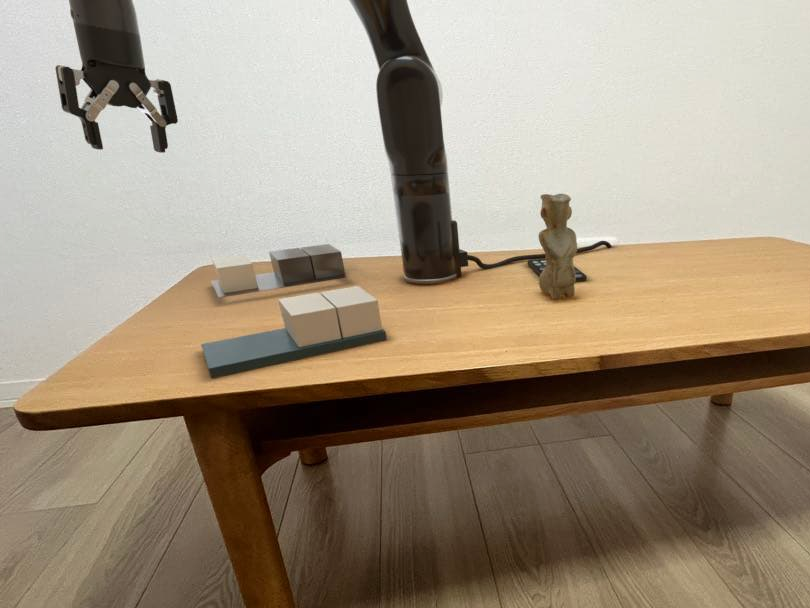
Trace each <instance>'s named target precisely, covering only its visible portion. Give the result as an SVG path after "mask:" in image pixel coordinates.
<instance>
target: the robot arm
mask: <svg viewBox="0 0 810 608" xmlns="http://www.w3.org/2000/svg"><path fill="white" fill-rule="evenodd" d="M348 1H349V3H350V5H351V6H352V8H353V10H354V12H355V13H356V16H357V17H358V19H359V20H360V22H361V25H362V26H363V28H364V31H365V33H366V35H367V39H368V40H369V43H370V46H371V49H372V53H373V55H374V58H375V61H376V64H377V67H378V70H379V71H378V73H377V77H376V82H375V83H376V84H375V94H376V102H377V108H378V117H379V123H380V128H381V135H382V136H381V137H382V142H383V147H384V152H385V155H386V158H387V160H388V167H389V172H390V180H391V187H392V195H393V201H394V210H395V217H396V225H397V232H398V240H399V246H400V254H401V261H402V270H403V280H404V281H405V282H406V283H407V282H408V283H410V284H415V285H416V284H417V285H435V284H441V283H442V284H443V283H446V282H450V281H453V280H455V279H458V278H462V277H463V276H462V275H463V273H462V268H465V267H469V261H471V262H474V263H476V265H477V266H478V268H481V269H484V270H490V269H494V268H499V267H503V266H506V265H508V264H512V263H514V262H523V261H528V260H535V259H546V256H545V253H536V254H524V255H517V256H512V257H509V258H505V259H504V260H501V261H498V262H496V263H490V264H489V263H483V262H482V260H481V259H480V258H479V257H477V256H475V255H471V254H468V251H466V250H463V249H460V237H459V228H458V227H459V226H458V222H457V220H455V219H453V213H452V211H453V210H452V201H451V192H450V191H451V190H450V179H449V169H448V168H449V165H448V156H447V152H446V147H445V140H444V130H443V128H444V127H443V119H442V118H443V117H442V104H443V88H442V83H441V81H440V79H439V76H438V74H437V72H436V70H435V69H434V66H433V64H432V62H431V59H430V57H429V56H428V53H427V51H426V48H425V46H424V44H423V42H422V39H421V36H420V35H419V32H418V30H417V28H416V25H415V22H414V20H413V16H412V13H411V10H410V7H409V2H408V0H348ZM68 4H69V8H70V10H69V13H70V17H71V19H72V23H73V26H74V27H73V29H74V33H75V37H76V41H77V47H78V51H79V56H80V60H81V63H82V64H81V68H80V69H75V68H71V67H69V66H67V65H61V64H58V65H55V75H56V80H57V87H58V91H59V93H58V94H59V98H60V104H61V109H62V111H63V112H65V113H67V114H69V115H72V116H75V117H76V118H78V120H80V122H81V126H82V131H83V135H84V141H86V143H87V144H89V145H90V146H91V148H92V149H94V150H100V151H101V150H104V145H103V140H102V136H101V131H100V126H99V122H97V121H96V119H97V118H98V117H99V115H100V113H101V112H102V111H103V110H105V108H106V107H107V105H108V106H112V107H127V108H130V109H138V111H139V112H141V113H142V114H143V115H144V116H145V117H146V119H147V120H148V121H149V122H150V123H151V125H149V127H150V134H151V140H152V146H153V147H152V148H153V150H154V151H155V152H157V153H160V154H161V153H163V154H164V153H166V150H167V149H168V147H169V143H168V138H167V137H168V135H167V131H166V127H168V126H170V125H172V124H174V125H176V124H178V122H179V119H178V115H177V114H178V113H177V109H176V105H175V99H174V95H173V94H174V93H173V90H172V85H171V83H170V82H169V81H168V80H164V79H158V78H157V79H149V78H148V76H147V74H146V64H145V57H144V51H143V46H142V39H141V34H140V28H139V22H138V21H139V20H138V16H137V11H136V8H135V4H134V1H133V0H68ZM81 80H82V81H83V82H84V83H85V84H86V85H87V86H88V87H89V89H90V90H89V92H88V93H87V95H86V97H85V98H84V102H83V103H82V105H81V107H80V104H79V98H78V97H79V96H78V91H77V87H78V86H79V85H80V82H81ZM150 90H152V93H153V94H154V95H156V96H157V100H158V105H159V110H160V113H159V111H158V109H157V107H156V106H155V105H154V104H153V103H152V102H151V100H150V99H149V97H147V95H148V93H149V92H150ZM601 246H605V247H606V248H608V249H612V248H613V246H612V244H611V243H610V242H609V241H607V240H599V241H597V242H595V243H594V244H592V245H588V246H584V247H579V248H578V247H577V252H576V254H575V255H578V254H581V253H585V252H590V251H593V250H595V249H597V248H599V247H601Z"/></svg>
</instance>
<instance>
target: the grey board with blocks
mask: <svg viewBox="0 0 810 608" xmlns="http://www.w3.org/2000/svg"><path fill="white" fill-rule="evenodd" d="M268 255H269V259H270V262H271V266H272V270H273V271H272V272H271V271H270V272H265V273H258V274H257V273H256V274H255V276H256V280H257V284H258V288H256V289H249V290H243V291H236V292H230V293H224V292H223V290H222V288H221V286H220V284H219V282H218V279H215V280H211V282H210V283H211V284H212V286H213V288H214V290H215V292H216V295H217V297H218V298H220V299H221V298H226V297H233V296H238V295H239V296H240V295H246V294H252V293H259V292H263V291H264V292H265V291H271V290H277V289H278V290H279V289H284V288H291V287H297V286H304V285H309V284H316V283H323V282H329V281H335V280H341V279H346V278H347V279H348V278H349V276H348V275H346V271H345V266H344V260H343V254H342V251H341V250H339V249H338V248H336V247H334V246H332V245H331V244H329V243H327V244H326V243H325V244H316V245H310V246H301V247H295V248H294V247H293V248H287V249H278V250H271V251H268Z"/></svg>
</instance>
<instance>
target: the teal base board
mask: <svg viewBox="0 0 810 608" xmlns="http://www.w3.org/2000/svg"><path fill="white" fill-rule="evenodd" d="M278 304H279V308H280V312H281V316H282V321H283V324H284V327H283V328H278V329H274V330H268V331H263V332H258V333H257V332H256V333H251V334H247V335H246V334H245V335H241V336H237V337H231V338H226V339H221V340H216V341H210V342H205V343H201V345H200V346H201V349H202V351H203V355H204V359H205V362H206V366H207V369H208V372H209V375H210V378H211V379H215V378H220V377H223V376H229V375H233V374H237V373H242V372H247V371H251V370H252V371H253V370H256V369H261V368H265V367H269V366H274V365H278V364H283V363H284V364H285V363H287V362H292V361H297V360H302V359H306V358H311V357H315V356H319V355H324V354H328V353H333V352H338V351H342V350H346V349H351V348H355V347H360V346H365V345H369V344H374V343H379V342H383V341H387V340H388V339H387V332H386V330H385V329H384V328H383V325H382V318H381V312H380V307H379V300H378V299H377V298H375V297H374V296H373V295H371V294H370V293H368V292H367V291H366V290H365V289H363V288H362V287H360V286H359V285H355V286H350V287H344V288H343V287H342V288H337V289H332V290H326V291H325V290H324V291H320V292H314V293H313V292H312V293H307V294H301V295H296V296H290V297H289V296H288V297H283V298H278Z"/></svg>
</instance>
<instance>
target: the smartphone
mask: <svg viewBox="0 0 810 608" xmlns="http://www.w3.org/2000/svg"><path fill="white" fill-rule="evenodd" d="M526 263H527V265H528V266H529V267H530V268H531V270H533V271H534V273H536V274H537V275H538V276H539V277H540V275H541V273H542V271H543V270H544V268H545V267H546V259H532V260H526ZM574 269H575V275H576V281H575V282H582V281H583V282H584V281H586V280H587V278H588V276H587V275H586V274H585V273H583V272H582V271H581V270H580V269H578V267H576V266H574Z"/></svg>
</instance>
